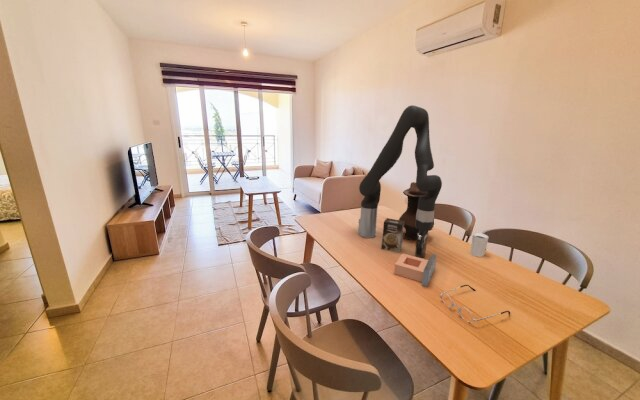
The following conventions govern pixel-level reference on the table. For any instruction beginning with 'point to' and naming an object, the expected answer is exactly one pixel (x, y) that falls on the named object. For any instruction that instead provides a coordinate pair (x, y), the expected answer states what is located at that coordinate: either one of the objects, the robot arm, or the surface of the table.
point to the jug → (411, 211)
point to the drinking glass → (479, 244)
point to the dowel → (422, 250)
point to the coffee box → (392, 235)
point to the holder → (410, 267)
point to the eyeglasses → (464, 307)
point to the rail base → (429, 270)
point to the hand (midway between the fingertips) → (420, 251)
